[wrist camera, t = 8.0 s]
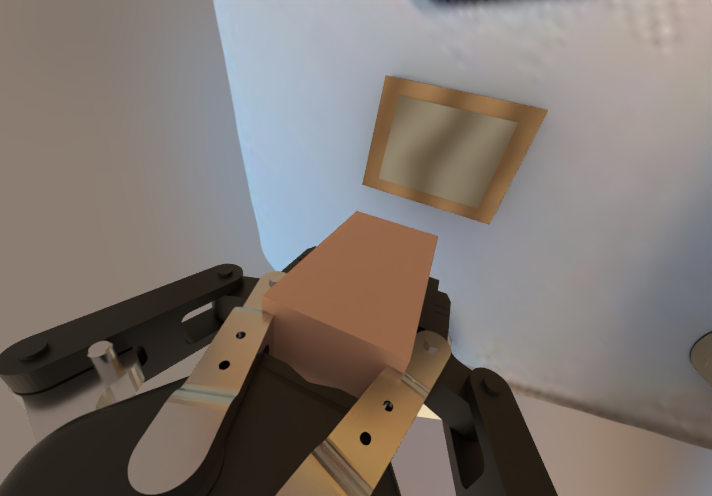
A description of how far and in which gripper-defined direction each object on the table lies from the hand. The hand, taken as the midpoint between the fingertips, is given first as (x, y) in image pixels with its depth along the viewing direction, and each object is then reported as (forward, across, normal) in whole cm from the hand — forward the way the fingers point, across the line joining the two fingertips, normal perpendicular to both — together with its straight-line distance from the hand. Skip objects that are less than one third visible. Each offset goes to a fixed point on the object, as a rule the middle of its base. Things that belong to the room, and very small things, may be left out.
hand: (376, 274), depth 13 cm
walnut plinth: (+23, 0, -4) cm, 24 cm away
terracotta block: (+2, 0, 0) cm, 2 cm away
